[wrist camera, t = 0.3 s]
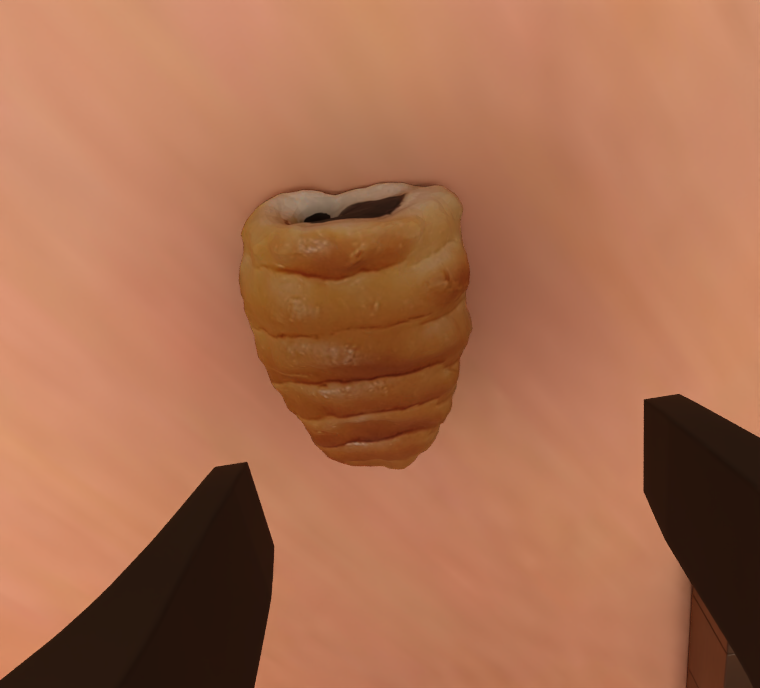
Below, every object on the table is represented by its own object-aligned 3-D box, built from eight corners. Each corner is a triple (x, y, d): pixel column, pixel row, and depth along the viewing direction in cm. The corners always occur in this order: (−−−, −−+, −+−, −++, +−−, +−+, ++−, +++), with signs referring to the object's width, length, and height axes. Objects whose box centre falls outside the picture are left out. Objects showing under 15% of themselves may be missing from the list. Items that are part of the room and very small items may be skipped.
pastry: (475, 429, 24) (493, 500, 20) (287, 450, 24) (274, 523, 20) (455, 163, 19) (473, 195, 16) (228, 193, 20) (199, 230, 16)
